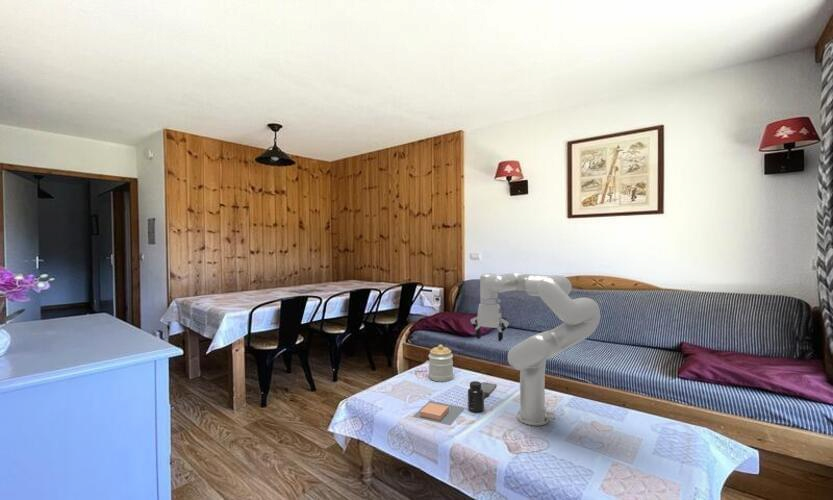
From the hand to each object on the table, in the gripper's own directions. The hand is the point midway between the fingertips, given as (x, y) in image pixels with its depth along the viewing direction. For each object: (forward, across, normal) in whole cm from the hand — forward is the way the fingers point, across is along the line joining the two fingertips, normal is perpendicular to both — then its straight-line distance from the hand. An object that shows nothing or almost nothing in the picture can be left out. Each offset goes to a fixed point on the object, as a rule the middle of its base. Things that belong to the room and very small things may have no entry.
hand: (489, 339), depth 170 cm
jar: (+28, +32, -18) cm, 46 cm away
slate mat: (+28, +16, +20) cm, 38 cm away
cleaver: (+29, +7, -6) cm, 30 cm away
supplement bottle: (+28, +3, +11) cm, 31 cm away
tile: (+26, +17, +18) cm, 36 cm away
